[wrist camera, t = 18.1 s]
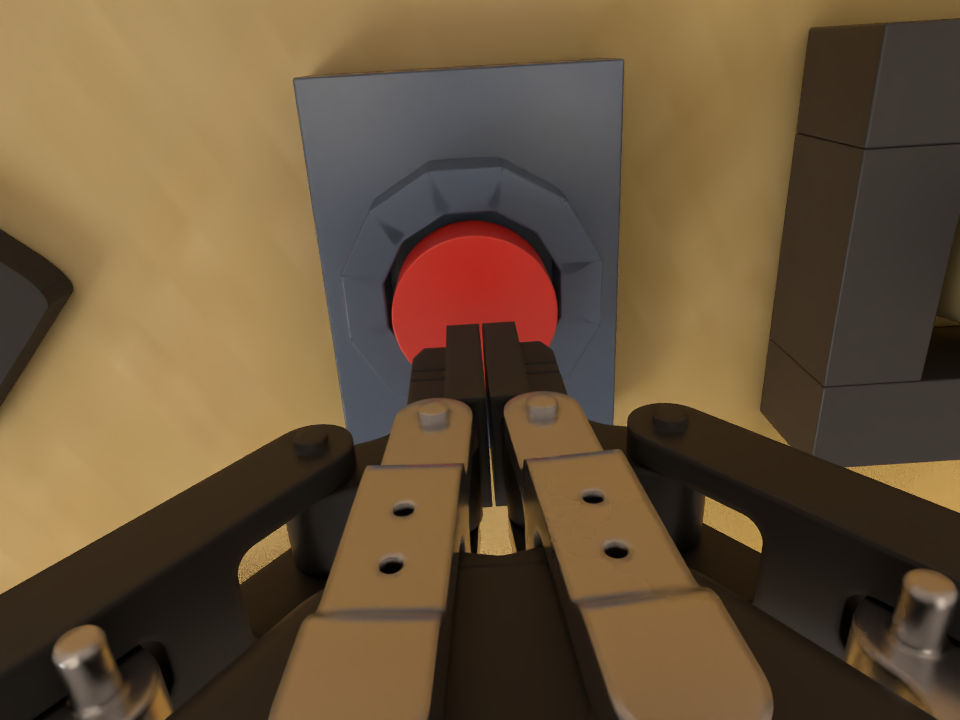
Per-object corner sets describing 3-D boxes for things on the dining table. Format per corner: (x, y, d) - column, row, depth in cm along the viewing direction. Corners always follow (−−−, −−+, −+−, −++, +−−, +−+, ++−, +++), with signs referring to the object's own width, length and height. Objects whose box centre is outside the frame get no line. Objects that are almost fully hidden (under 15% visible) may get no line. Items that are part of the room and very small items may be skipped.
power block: (307, 75, 21) (276, 80, 17) (607, 58, 21) (641, 59, 17) (358, 425, 25) (342, 488, 22) (600, 410, 26) (625, 469, 22)
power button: (388, 224, 19) (382, 240, 17) (548, 215, 19) (557, 230, 17) (404, 370, 21) (400, 396, 19) (550, 360, 21) (558, 386, 19)
